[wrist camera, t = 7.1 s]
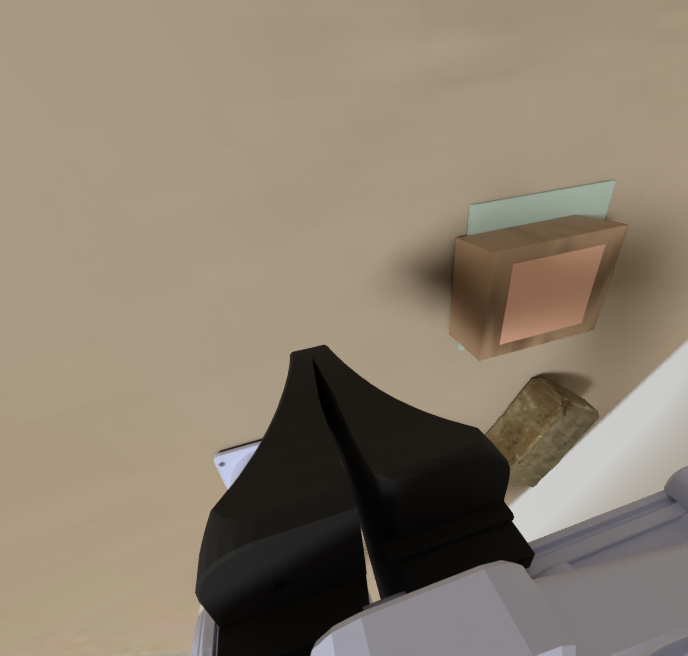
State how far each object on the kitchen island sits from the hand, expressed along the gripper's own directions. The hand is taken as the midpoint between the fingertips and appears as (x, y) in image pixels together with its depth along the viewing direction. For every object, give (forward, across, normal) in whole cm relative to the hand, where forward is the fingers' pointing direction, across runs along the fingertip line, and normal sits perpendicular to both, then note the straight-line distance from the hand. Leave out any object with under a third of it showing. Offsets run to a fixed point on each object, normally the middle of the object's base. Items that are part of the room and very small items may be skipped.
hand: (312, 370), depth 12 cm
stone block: (+11, -22, +21) cm, 32 cm away
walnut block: (+8, -12, +3) cm, 15 cm away
